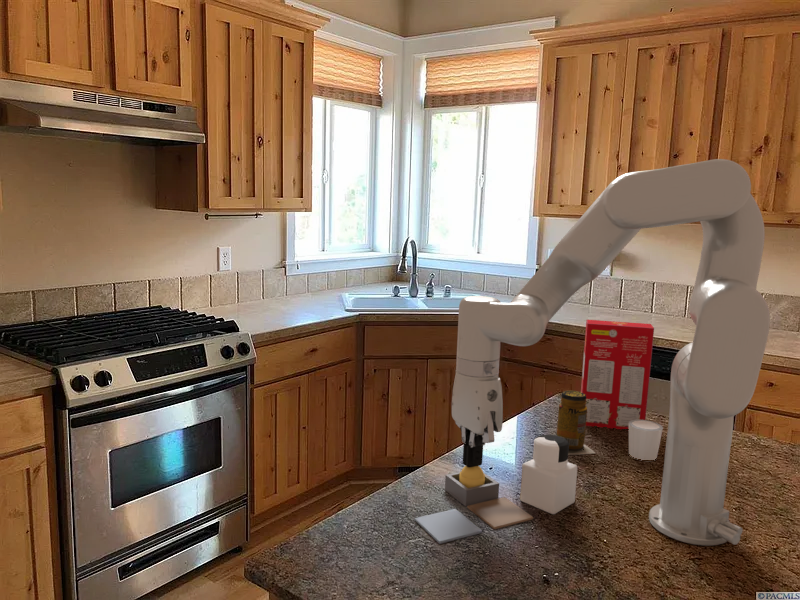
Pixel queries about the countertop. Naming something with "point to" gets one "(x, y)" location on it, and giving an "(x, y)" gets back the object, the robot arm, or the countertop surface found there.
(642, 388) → the food packaging
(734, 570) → the countertop surface
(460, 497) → the dome housing
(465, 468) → the dome
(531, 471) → the medicine bottle
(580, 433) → the condiment
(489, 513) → the step square
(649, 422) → the white tapered cylinder
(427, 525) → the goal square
